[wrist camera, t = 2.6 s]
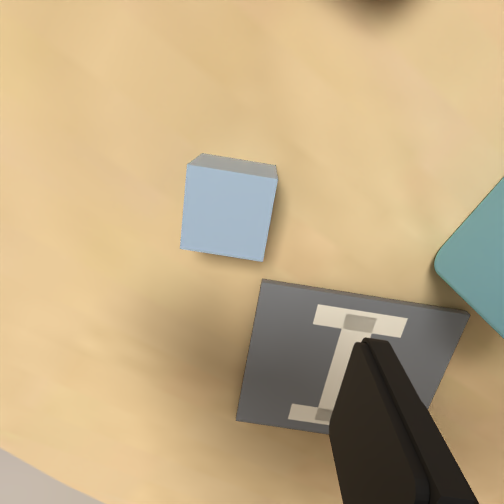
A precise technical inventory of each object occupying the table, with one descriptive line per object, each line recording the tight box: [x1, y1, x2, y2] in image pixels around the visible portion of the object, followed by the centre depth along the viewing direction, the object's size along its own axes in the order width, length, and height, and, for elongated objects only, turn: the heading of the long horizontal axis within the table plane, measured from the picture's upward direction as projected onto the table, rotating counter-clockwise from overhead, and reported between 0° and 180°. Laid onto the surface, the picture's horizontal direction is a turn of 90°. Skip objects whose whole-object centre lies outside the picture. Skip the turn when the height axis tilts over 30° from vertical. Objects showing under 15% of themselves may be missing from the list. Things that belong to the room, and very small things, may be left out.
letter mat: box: [236, 279, 470, 434], centre depth 30 cm, size 16×14×1 cm
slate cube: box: [180, 153, 278, 262], centre depth 23 cm, size 5×5×5 cm
